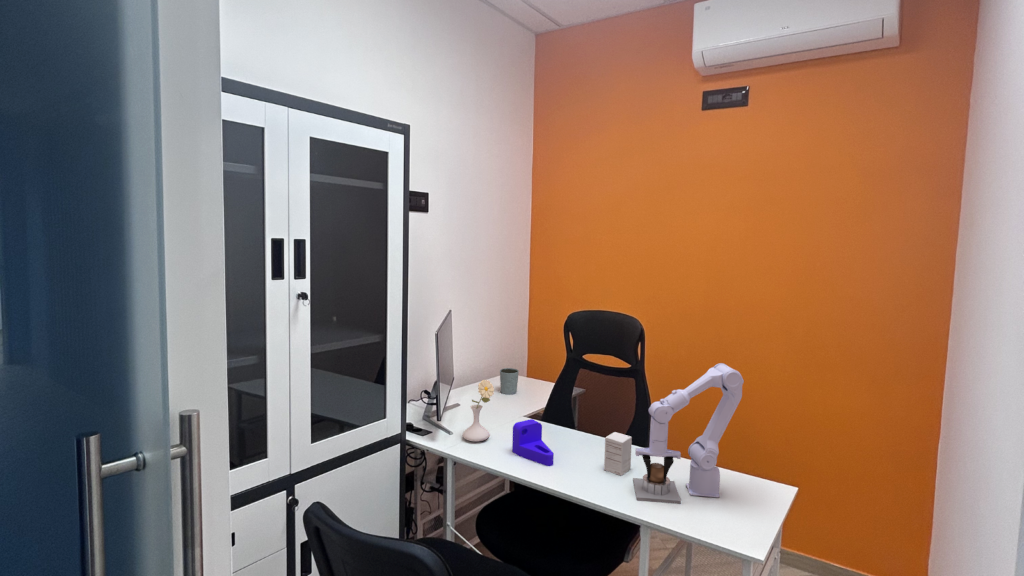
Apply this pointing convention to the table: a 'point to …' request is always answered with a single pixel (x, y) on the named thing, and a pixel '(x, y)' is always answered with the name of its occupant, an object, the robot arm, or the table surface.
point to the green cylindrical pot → (508, 381)
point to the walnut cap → (656, 473)
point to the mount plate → (645, 496)
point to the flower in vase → (476, 430)
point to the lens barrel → (656, 486)
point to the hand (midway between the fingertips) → (656, 477)
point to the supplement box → (617, 453)
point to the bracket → (531, 442)
